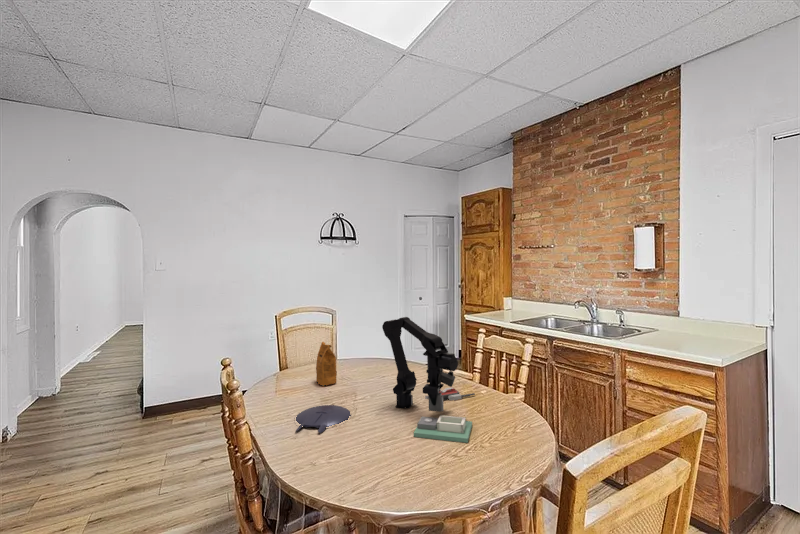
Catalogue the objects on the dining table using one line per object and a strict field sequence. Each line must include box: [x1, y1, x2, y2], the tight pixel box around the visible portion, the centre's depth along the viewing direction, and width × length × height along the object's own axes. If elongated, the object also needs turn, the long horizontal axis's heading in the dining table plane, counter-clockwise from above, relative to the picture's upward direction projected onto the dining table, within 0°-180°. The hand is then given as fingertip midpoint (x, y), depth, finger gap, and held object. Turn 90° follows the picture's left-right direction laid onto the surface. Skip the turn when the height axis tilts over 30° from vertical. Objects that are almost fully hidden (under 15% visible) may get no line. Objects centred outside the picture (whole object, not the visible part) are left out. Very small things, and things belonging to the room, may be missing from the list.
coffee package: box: [315, 341, 337, 387], centre depth 208 cm, size 10×12×22 cm
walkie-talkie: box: [440, 386, 476, 401], centre depth 182 cm, size 9×4×20 cm
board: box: [413, 414, 473, 444], centre depth 146 cm, size 20×15×4 cm
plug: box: [424, 392, 445, 413], centre depth 160 cm, size 7×3×7 cm, turn 73°
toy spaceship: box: [295, 404, 352, 434], centre depth 160 cm, size 28×24×3 cm
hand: (435, 403), depth 160 cm, fingers closed on plug, 3 cm apart
